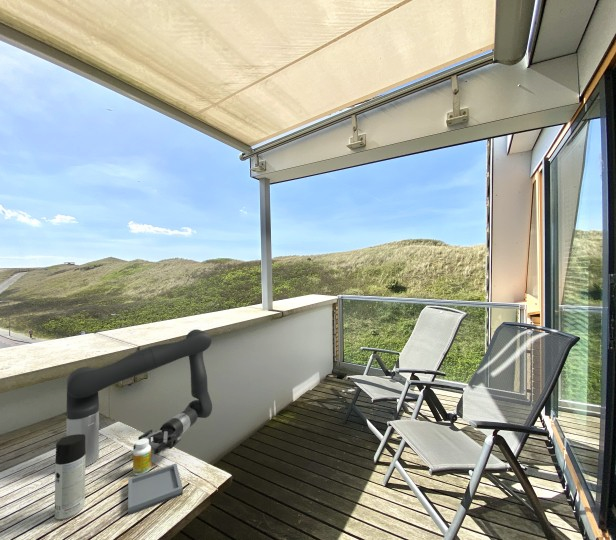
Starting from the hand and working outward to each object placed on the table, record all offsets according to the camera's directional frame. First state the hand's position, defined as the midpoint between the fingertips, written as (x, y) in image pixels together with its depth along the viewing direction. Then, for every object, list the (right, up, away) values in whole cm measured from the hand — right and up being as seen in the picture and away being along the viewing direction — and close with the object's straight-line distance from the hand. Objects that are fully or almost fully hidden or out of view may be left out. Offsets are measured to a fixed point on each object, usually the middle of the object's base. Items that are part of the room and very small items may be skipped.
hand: (144, 450), depth 100 cm
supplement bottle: (0, -6, -1) cm, 6 cm away
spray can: (-11, -6, -18) cm, 22 cm away
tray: (+9, -6, -11) cm, 15 cm away
